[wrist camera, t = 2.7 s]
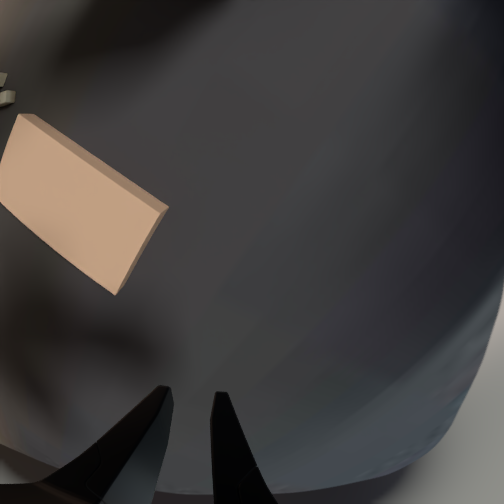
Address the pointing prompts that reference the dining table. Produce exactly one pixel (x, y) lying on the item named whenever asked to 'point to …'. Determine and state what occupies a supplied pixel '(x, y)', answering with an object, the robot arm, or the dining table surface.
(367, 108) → the dining table surface
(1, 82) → the grey-green flat pronged block
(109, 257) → the terracotta tile
